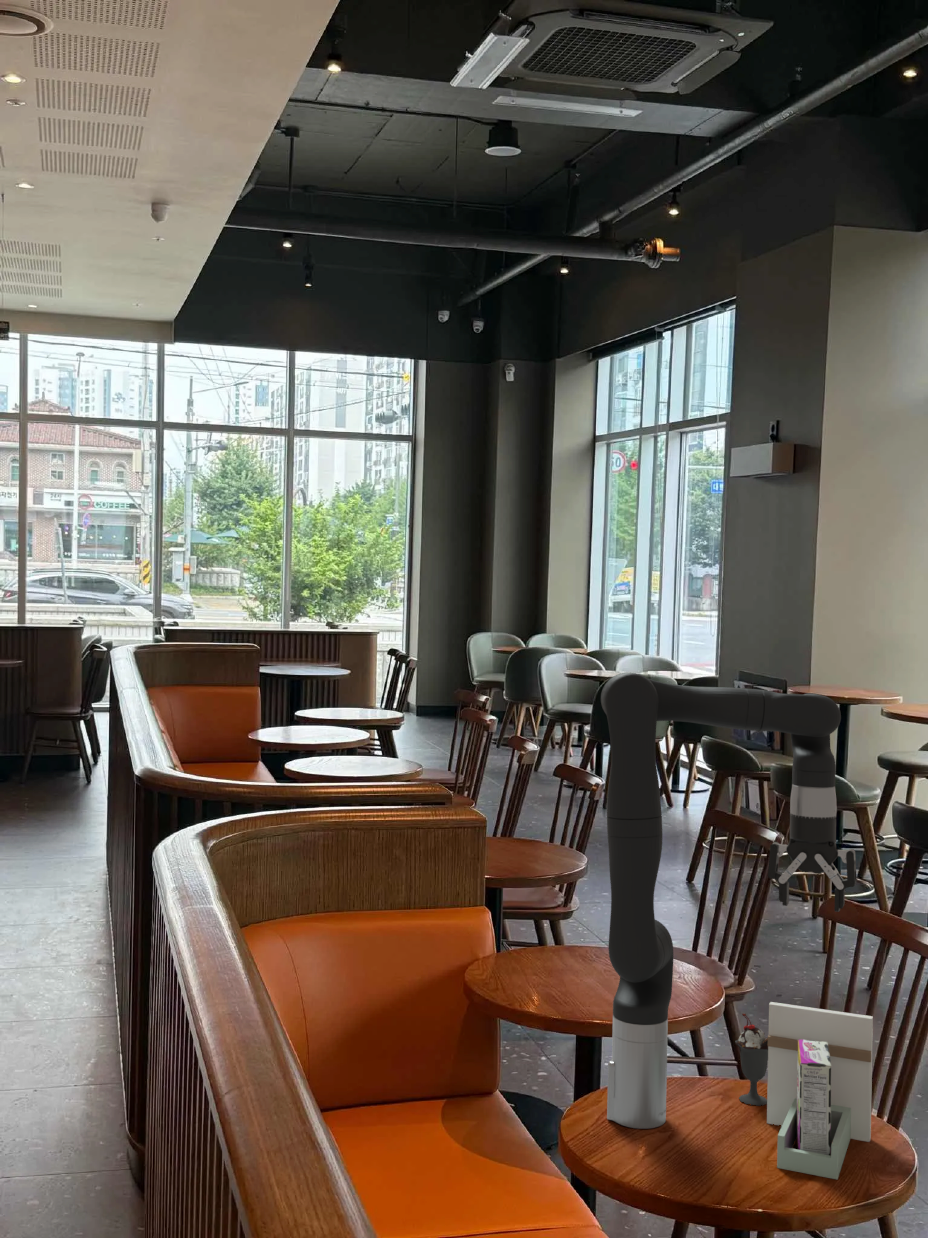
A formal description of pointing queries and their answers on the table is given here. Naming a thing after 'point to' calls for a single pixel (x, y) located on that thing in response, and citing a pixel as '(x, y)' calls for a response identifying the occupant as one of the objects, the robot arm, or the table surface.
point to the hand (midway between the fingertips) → (811, 908)
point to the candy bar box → (814, 1097)
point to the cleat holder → (848, 1081)
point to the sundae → (753, 1061)
